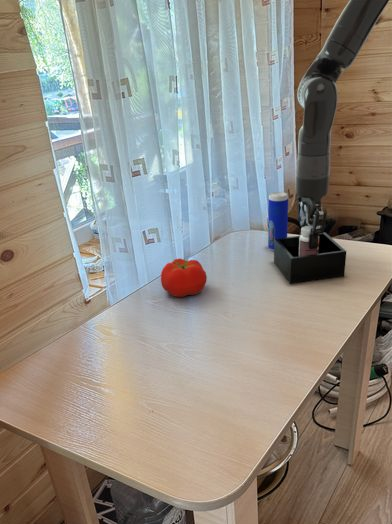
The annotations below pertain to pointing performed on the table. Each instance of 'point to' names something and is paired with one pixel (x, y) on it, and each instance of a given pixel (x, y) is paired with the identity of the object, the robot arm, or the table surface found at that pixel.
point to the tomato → (183, 277)
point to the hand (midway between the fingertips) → (309, 244)
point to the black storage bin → (309, 260)
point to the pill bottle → (306, 243)
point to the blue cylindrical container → (277, 217)
